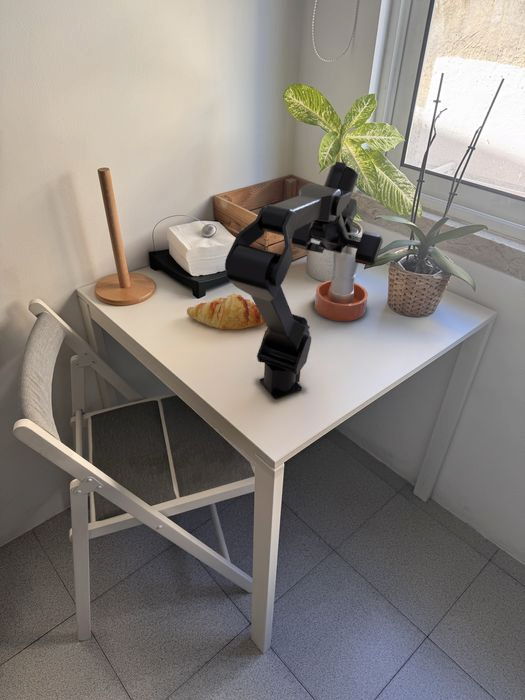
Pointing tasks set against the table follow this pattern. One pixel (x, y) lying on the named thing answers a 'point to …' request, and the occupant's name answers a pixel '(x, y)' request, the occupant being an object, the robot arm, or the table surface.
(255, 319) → the croissant
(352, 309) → the bowl
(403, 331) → the table surface
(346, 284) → the plastic bottle
